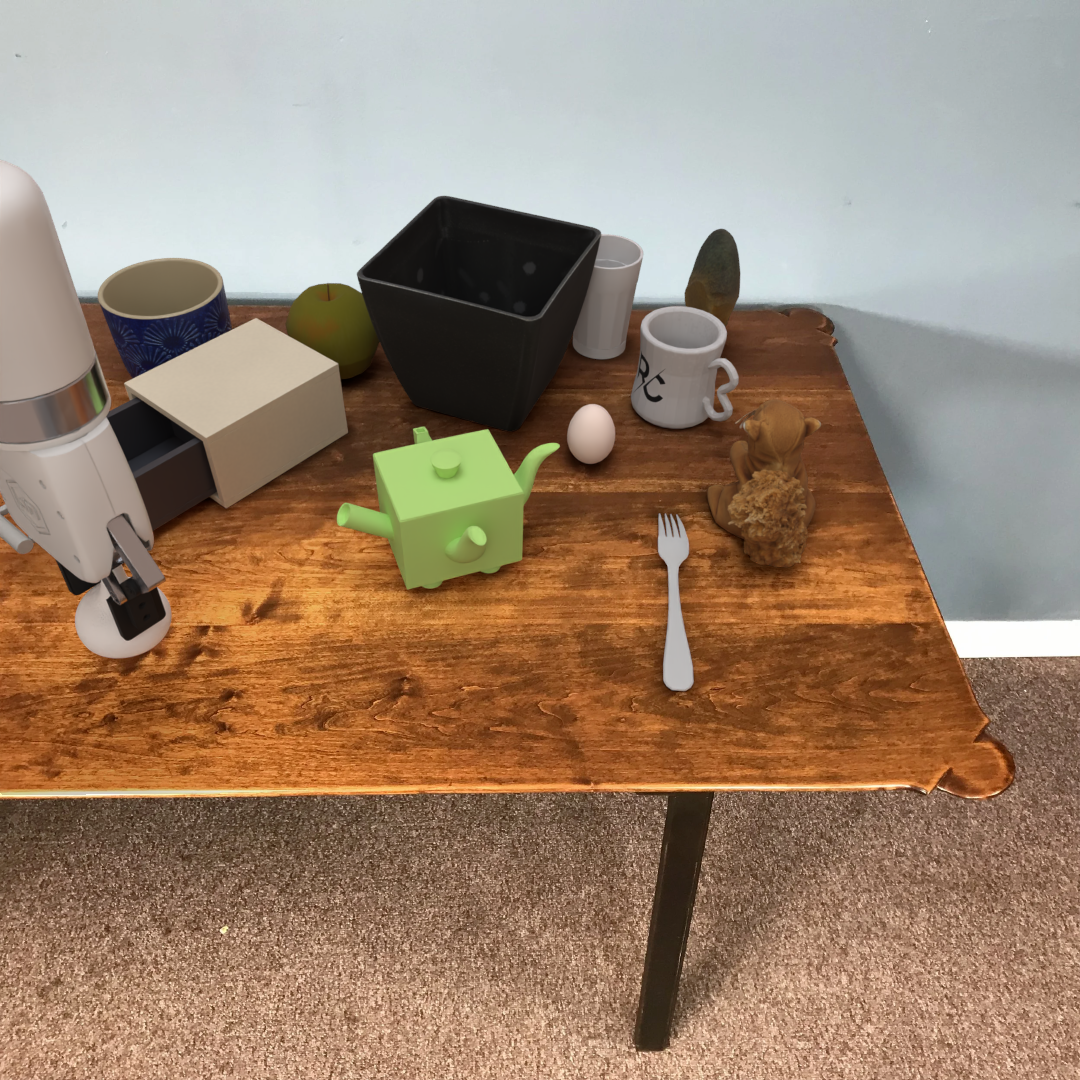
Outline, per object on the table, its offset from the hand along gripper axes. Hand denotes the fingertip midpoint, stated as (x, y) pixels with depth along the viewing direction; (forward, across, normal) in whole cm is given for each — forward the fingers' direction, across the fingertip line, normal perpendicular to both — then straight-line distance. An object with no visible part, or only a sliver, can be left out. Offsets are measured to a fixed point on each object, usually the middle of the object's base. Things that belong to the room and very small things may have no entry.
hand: (117, 603), depth 65 cm
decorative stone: (+9, +6, +71) cm, 72 cm away
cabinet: (+10, -20, +25) cm, 33 cm away
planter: (+11, -35, +28) cm, 46 cm away
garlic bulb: (+3, 0, 0) cm, 3 cm away
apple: (+10, -23, +40) cm, 47 cm away
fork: (+10, +25, +36) cm, 45 cm away
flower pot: (+10, -8, +48) cm, 50 cm away
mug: (+10, +11, +59) cm, 61 cm away
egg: (+10, +8, +46) cm, 48 cm away
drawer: (+10, -20, +10) cm, 24 cm away
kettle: (+10, +7, +27) cm, 30 cm away
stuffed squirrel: (+10, +27, +48) cm, 56 cm away
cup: (+10, -4, +64) cm, 65 cm away
